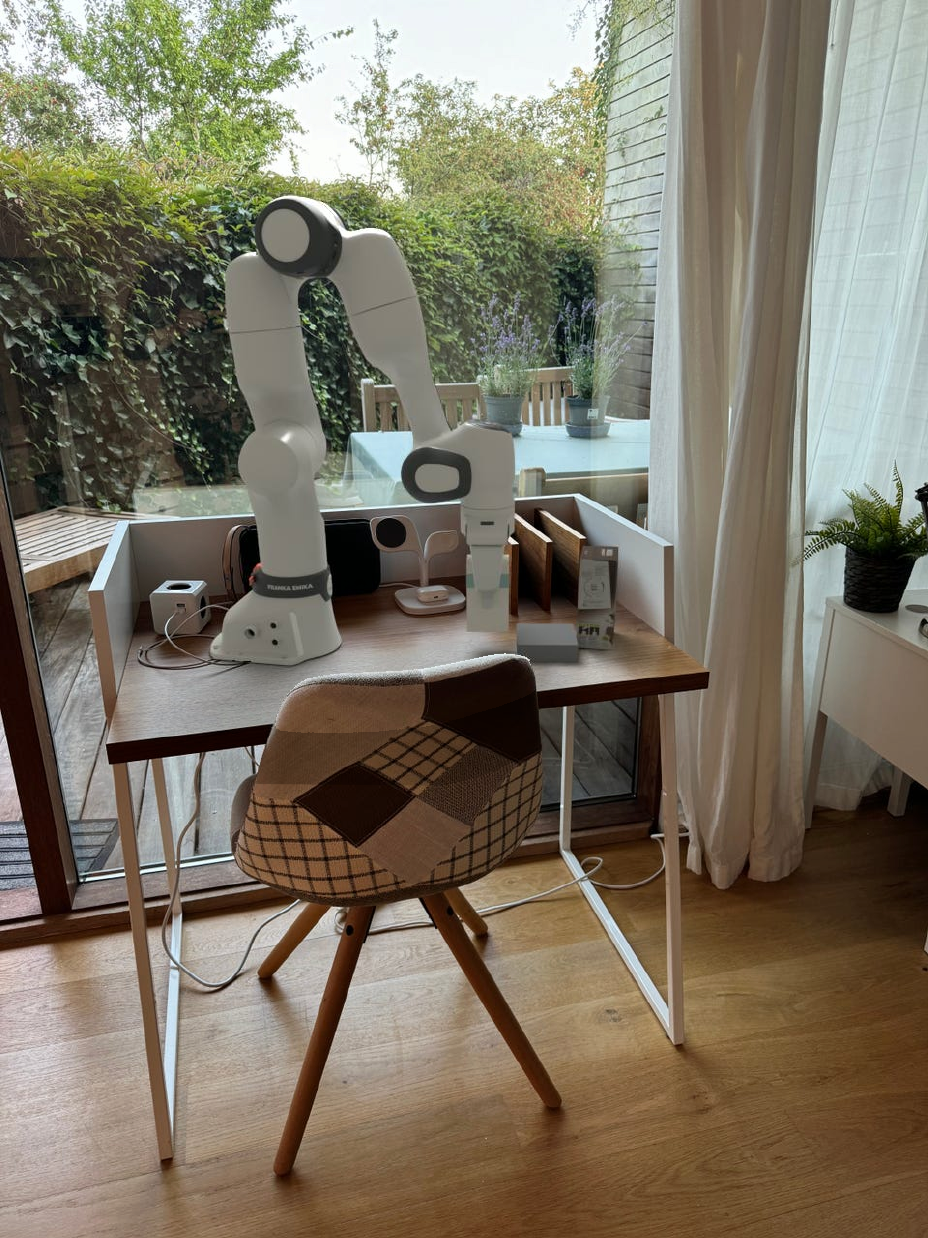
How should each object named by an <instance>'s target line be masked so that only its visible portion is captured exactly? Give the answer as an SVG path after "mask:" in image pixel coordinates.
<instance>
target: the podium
mask: <svg viewBox="0 0 928 1238" xmlns="http://www.w3.org/2000/svg"><path fill="white" fill-rule="evenodd" d="M517 654H518V655H521V656H525V657H527V658H528V659H530V661H531V663H532V662H533V663H535V662H536V663H539V662H540V663H545V662H546V663H554V662H555V663H578V662H579V661H578V660H579V648H578V641H577V631H576V629H575V625H574V623H516V655H517Z"/></svg>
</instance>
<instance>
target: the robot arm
mask: <svg viewBox="0 0 928 1238" xmlns="http://www.w3.org/2000/svg"><path fill="white" fill-rule="evenodd" d="M253 234H254V242H255V246H256V249H257V251H253V252H251V251H250V252H247V253H243V254H241V255H239V256H237V257H236V258H233V260H232V261H230V262H229V263H228V265H227V268H226V271H225V278H224V280H225V283H224V290H225V291H224V293H225V296H224V297H225V311H226V320H227V327H228V333H229V339H230V345H231V351H232V358H233V363H234V368H235V373H236V374H235V375H236V380H237V385H238V387H239V389H240V391H241V392H242V394H243V396H244V398H245V400H246V401H245V402H246V403H247V406H248V409H249V411H250V414H251V417H252V420H253V423H254V428H255V431H253V432H252V433H251V434H250V435H249V436H248V437H247V438H245V441H244V443H243V444H242V446H241V449H240V452H239V456H238V461H237V469H238V473H239V476H240V478H241V480H242V482H243V483H244V484H245V487H246V490H247V491H246V492H247V495H248V498H249V503H250V504H251V508H252V511H253V515H254V520H255V523H256V528H257V529H256V530H257V538H258V547H259V557H260V562H259V563H257V564H256V566H255V567H254V568H253V570H252V573H251V574H250V577H249V579H248V580H249V586H250V587H251V589H252V590H250V591H249V592H248V593H247V594H246V595H244V596H243V597H242V598H240V600H238V601H237V602H236V603H235V604H234V605H232V606H231V608H230V609H229V610H228V611H227V612H226V614H225V616H224V619H223V623H222V630H221V631H222V632H220V633H219V634H218V635H217V636H215V638H214V639H213V640H212V642H211V644H210V647H209V648H210V651H209V652H210V653H209V654H210V657H211V656H212V657H213V658H212V657H211V658H212V659H214V660H221V661H222V660H223V661H232V660H235V661H234V662H243V661H251V662H250V663H255V664H256V663H257V664H265V665H266V664H268V665H269V664H270V665H278V666H279V665H280V666H295V665H297V664H300V663H302V662H304V661H306V660H309V659H313V658H317V657H318V658H319V657H321V656H325V655H327V654H329V653H332V652H333V651H335V650H337V649H338V648H340V646H341V645H342V641H343V640H342V637H341V635H340V632H339V630H338V626H337V623H336V618H335V614H334V611H333V610H334V609H333V604H332V599H331V598H332V595H333V583H332V574H331V569H330V565H329V564H328V561H327V560H328V559H327V547H326V546H327V544H326V532H325V531H326V530H325V519H324V518H323V516H322V513H321V511H320V506H319V501H318V497H317V492H316V488H315V487H316V486H315V475H316V473H317V472H318V471H319V470H320V468H321V467H322V466H323V464H324V462H325V459H326V455H327V440H326V435H325V434H324V431H323V428H322V422H321V418H320V415H319V414H320V413H319V410H318V407H317V403H316V400H315V396H314V393H313V390H312V386H311V382H310V376H309V373H308V371H309V370H308V365H307V357H306V352H305V351H306V350H305V345H304V337H303V330H302V325H301V324H302V323H301V317H300V313H299V312H300V311H299V310H300V309H299V302H298V301H299V300H298V299H299V297H298V296H299V291H300V289H301V287H302V286H307V285H309V284H311V283H313V282H315V281H318V280H320V279H322V278H323V279H324V278H327V279H328V280H329V281H331V282H332V283H333V284H334V285H335V286H336V289H337V290H338V292H339V294H340V297H341V299H342V300H341V301H342V302H343V306H344V309H345V312H346V315H347V318H348V322H349V325H350V328H351V331H352V333H353V335H354V338H355V340H356V343H357V345H358V346H359V348H360V351H361V352H362V355H364V358H365V360H367V362H368V363H370V364H371V365H372V366H374V367H375V368H376V369H378V370H379V371H381V372H382V373H383V374H384V376H386V377H387V378H388V379H389V380H390V381H391V383H392V384H393V386H394V388H395V390H396V391H397V394H398V397H399V400H400V402H401V405H402V409H403V412H404V414H405V417H406V419H407V422H408V425H409V429H410V430H411V431H410V432H411V434H412V435H411V436H412V449H411V450H410V452H409V453H408V454H407V455H406V457H405V459H404V461H403V463H402V465H401V470H400V479H401V482H402V485H403V487H404V489H405V491H406V492H407V494H408V495H409V496H410V497H411V498H413V499H414V500H415V501H418V502H420V503H424V504H438V503H445V502H451V501H455V500H460V532H461V534H463V536H464V537H465V541H466V544H467V545H468V546H469V551H470V555H471V559H472V568H473V577H474V584H475V589H476V591H477V592H479V593H481V596H482V608H484V609H491V608H492V607H493V593H495V592H497V591H498V589H499V584H500V576H501V568H502V559H503V555H504V550H505V547H506V545H508V542H509V538H510V537H511V535H513V534H514V533H515V524H516V523H515V520H516V519H515V517H516V513H515V512H516V508H515V507H516V506H515V505H516V500H515V496H514V491H513V488H514V487H513V486H514V483H515V480H516V453H515V451H516V450H515V442H514V438H513V435H512V434H513V433H511V430H509V428H507V426H505V425H504V424H503V423H499V422H497V421H493V420H488V419H482V418H479V419H478V418H472V419H468V420H467V419H466V421H464V423H463V424H461V425H460V426H458V427H457V428H455V429H453V427H451V425H450V423H449V421H448V418H447V416H446V414H445V410H444V407H443V404H442V401H441V399H440V398H441V397H440V395H439V392H438V388H437V386H436V383H435V379H434V376H433V374H432V370H431V363H430V358H429V357H430V356H429V350H428V342H427V341H428V340H427V335H426V328H425V323H424V322H425V321H424V318H423V317H424V316H423V312H422V308H421V305H420V300H419V297H418V294H417V290H416V287H415V284H414V282H413V278H412V276H411V274H410V270H409V269H408V266H407V263H406V261H405V259H404V256H403V254H402V253H401V250H400V249H399V247H398V244H397V243H396V241H395V239H394V237H392V236H391V234H390V233H388V232H386V231H385V230H382V229H378V228H363V229H359V230H355V231H349V229H348V225H347V223H346V222H345V219H344V217H342V215H341V214H340V213H339V212H338V211H337V210H336V209H335V208H333V207H332V206H331V205H328V204H326V203H324V202H322V201H320V200H318V199H316V198H313V197H308V196H298V195H284V196H281V197H277V198H275V199H273V200H271V201H270V202H268V203H267V204H266V205H265V206H264V207H263V208H262V209H261V211H260V212H259V214H258V216H257V219H256V222H255V224H254V233H253Z"/></svg>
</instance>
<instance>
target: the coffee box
mask: <svg viewBox="0 0 928 1238" xmlns="http://www.w3.org/2000/svg"><path fill="white" fill-rule="evenodd" d="M618 566H619V546H610V545H609V546H607V545H595V546H594V545H583V546H582V549H581V552H580V556H579V572H578V573H579V574H578V592H577V593H578V594H577V597H578V598H577V619H576V621H577V623H576V637H577V641H578V649H579V648H580V649H581V648H582V649H592V650H606V651H612V650H613V642H614V634H615V625H616V623H615V622H616V612H617V611H616V610H617V609H616V608H617V593H618V592H617V591H618V569H619V567H618Z"/></svg>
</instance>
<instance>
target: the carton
mask: <svg viewBox="0 0 928 1238" xmlns="http://www.w3.org/2000/svg"><path fill="white" fill-rule="evenodd" d="M509 557H510V555H509V554H503V559H502V568H501V576H500V584H499V589H498V591H497V592H495V593H493V607H492V608H491V609H484V608H482V596H481V593H479V592H477V591H476V589H475V584H474V577H473V568H472V559H471V554H467V555H466V562H465V564H466V565H465V570H466V572H465V588H466V593H465V594H466V633H467V632H469V633H472V632H473V633H474V632H475V633H476V632H477V633H478V632H479V633H480V632H482V633H484V632H486V633H487V632H488V633H489V632H490V633H503V632H504V633H509V627H510V626H509V617H510V616H509V614H510V613H509V612H510V611H509V610H510V609H509V608H510V607H509V604H510V596H509V595H510V594H509V593H510V558H509Z"/></svg>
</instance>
